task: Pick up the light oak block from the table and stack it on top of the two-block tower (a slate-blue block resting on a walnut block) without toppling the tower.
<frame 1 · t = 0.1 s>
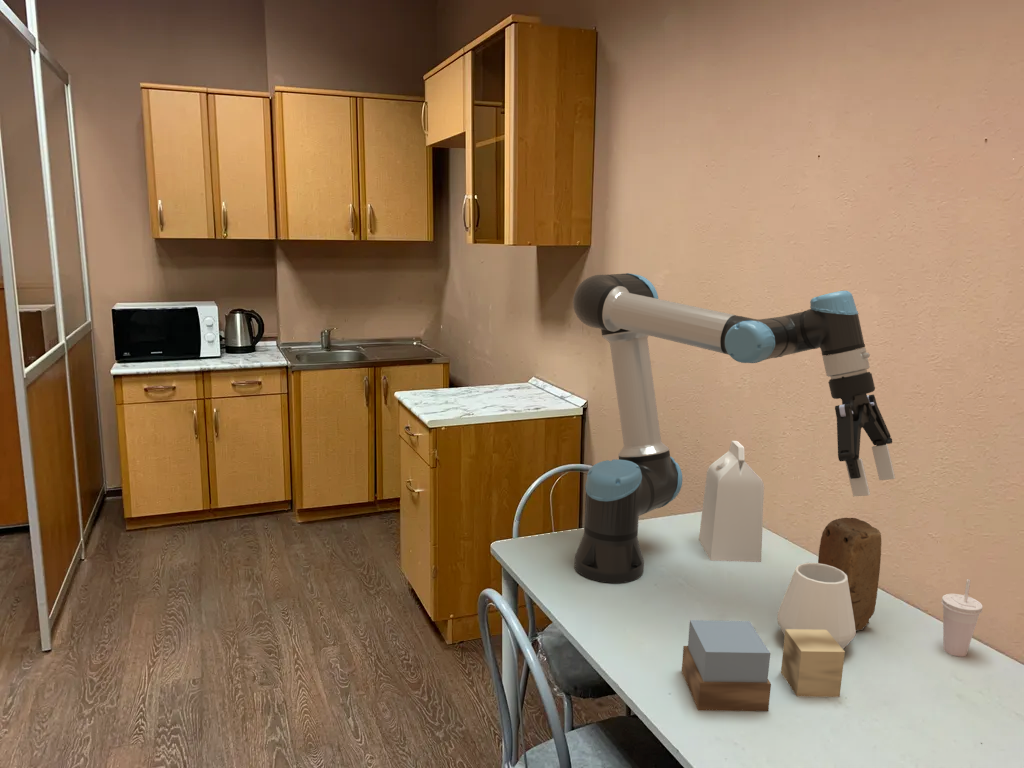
hand: (875, 487, 143), 28 cm above the table, tool tilted 20°, fingers open, 13 cm apart
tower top: (726, 664, 125), point 5 cm above the table
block: (840, 621, 150), on the table
white ceramic vase: (813, 644, 141), on the table
milk: (728, 551, 182), on the table
smoothie: (954, 652, 140), on the table
oak block: (809, 684, 128), on the table
tower base: (723, 692, 126), on the table
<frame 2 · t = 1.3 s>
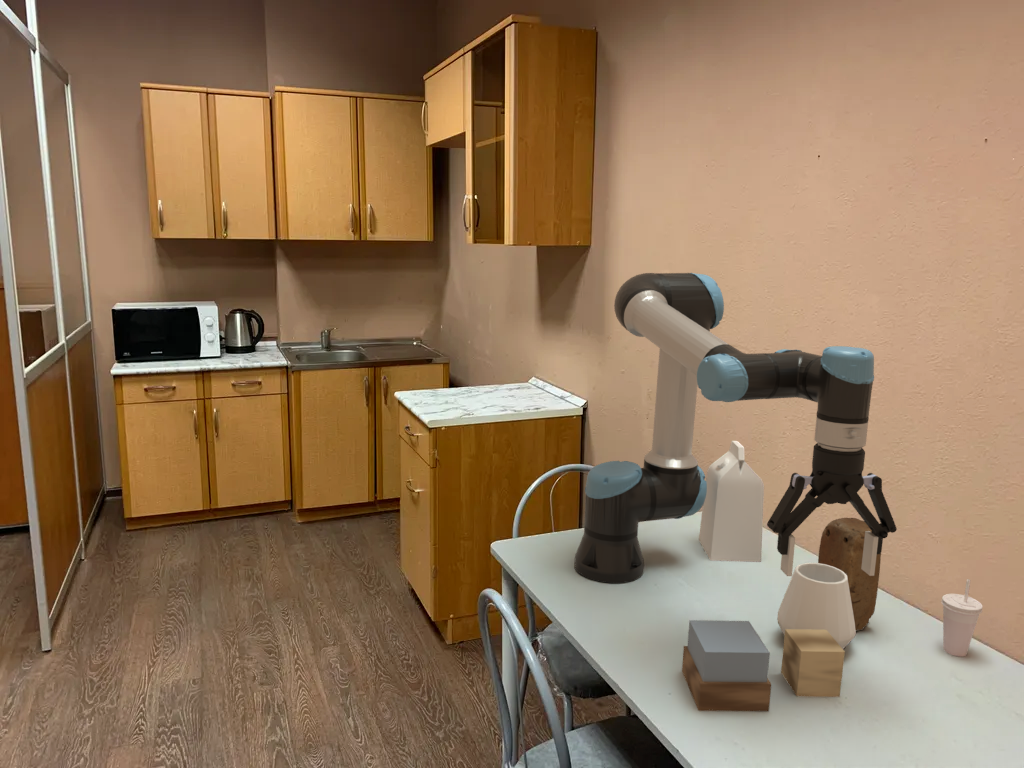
hand: (827, 572, 126), 19 cm above the table, tool pointing down, fingers open, 13 cm apart
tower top: (725, 664, 125), point 5 cm above the table, touching tower base
tower base: (723, 692, 126), on the table, touching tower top
everything else where it was.
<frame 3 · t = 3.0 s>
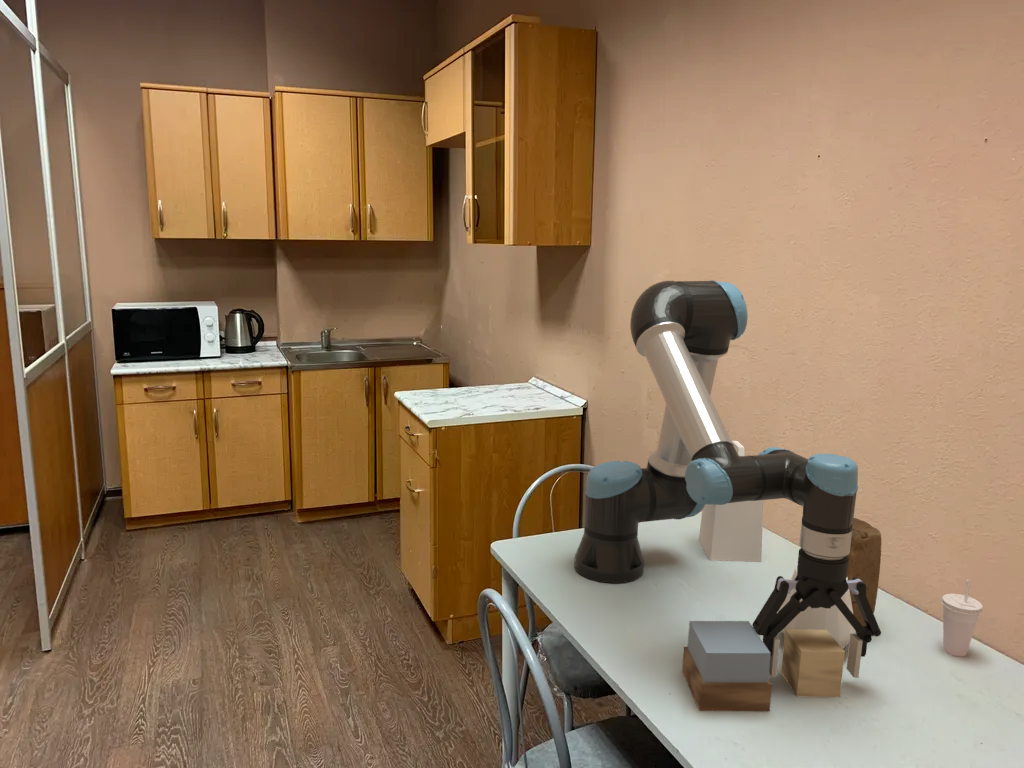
hand: (811, 673, 128), 2 cm above the table, tool pointing down, fingers open, 13 cm apart
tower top: (726, 664, 125), point 5 cm above the table, touching gripper
tower base: (723, 692, 126), on the table
everything else where it was.
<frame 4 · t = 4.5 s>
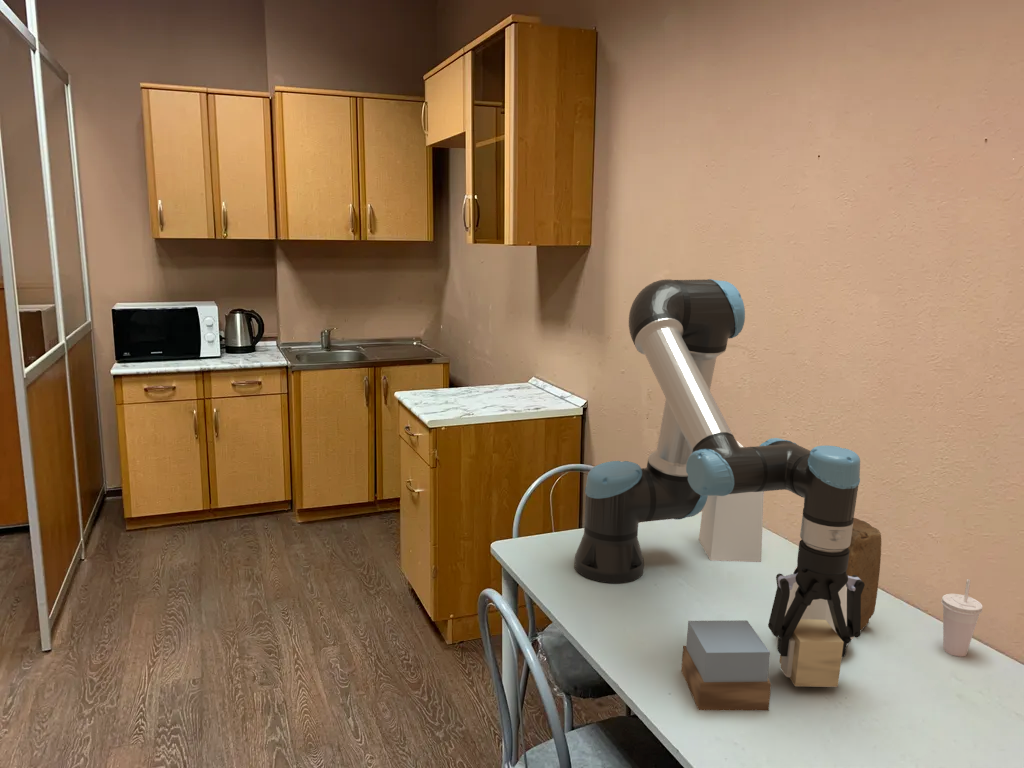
hand: (808, 672, 128), 2 cm above the table, tool pointing down, fingers closed on oak block, 7 cm apart
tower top: (725, 664, 125), point 5 cm above the table
oak block: (807, 674, 129), point 1 cm above the table, touching gripper
everything else where it was.
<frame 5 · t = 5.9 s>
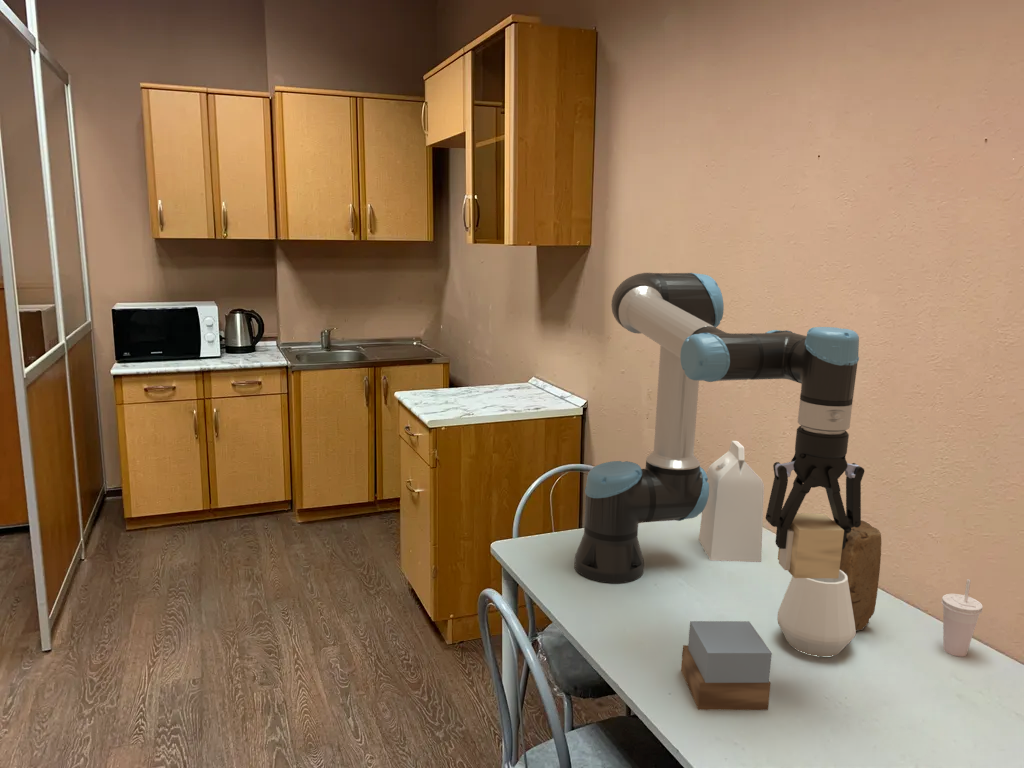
hand: (807, 566, 124), 21 cm above the table, tool pointing down, fingers closed on oak block, 7 cm apart
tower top: (726, 665, 125), point 5 cm above the table, touching tower base
oak block: (807, 568, 124), point 20 cm above the table, touching gripper
tower base: (722, 691, 126), on the table, touching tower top
everything else where it was.
when the fingers open (10 cm above the table, at t = 9.5 s): oak block stays where it is, resting on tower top.
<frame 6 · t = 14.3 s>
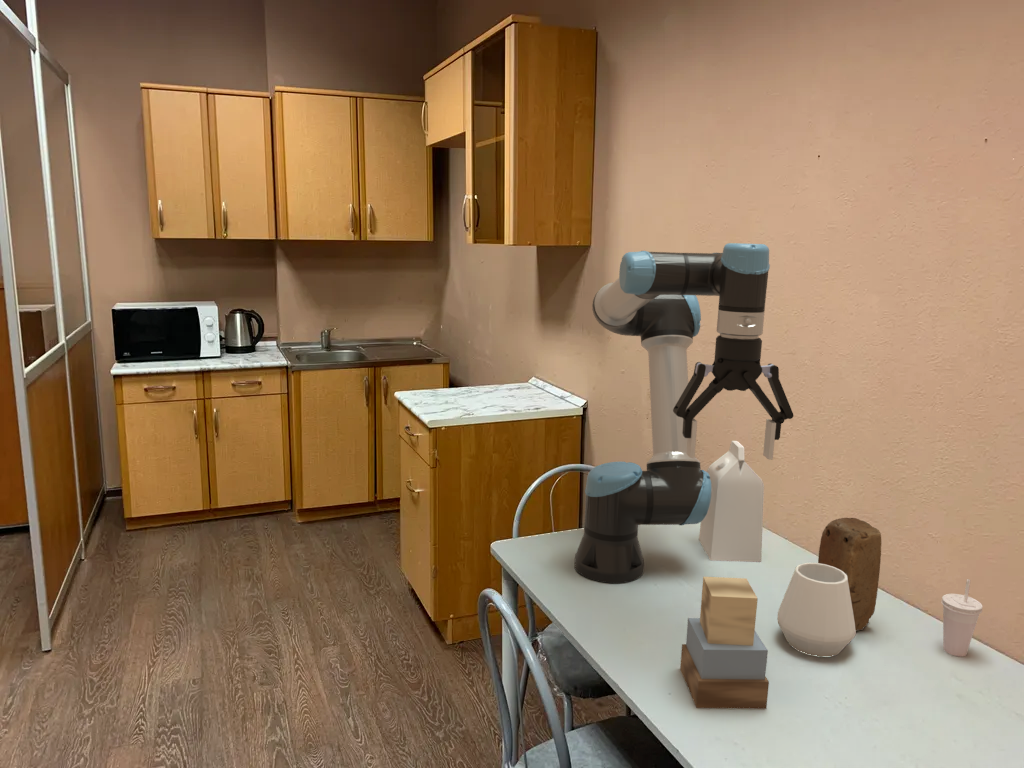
hand: (729, 456, 135), 35 cm above the table, tool pointing down, fingers open, 13 cm apart
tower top: (723, 661, 126), point 5 cm above the table, touching oak block, tower base
oak block: (725, 633, 125), point 10 cm above the table, touching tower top
everything else where it was.
at the end: oak block inside the target area on the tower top (0.1 cm from its centre), point 5.0 cm above the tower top's base; oak block tilted 0°; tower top 0.1 cm off-centre on the tower base, point 5.0 cm above the tower base's base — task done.
